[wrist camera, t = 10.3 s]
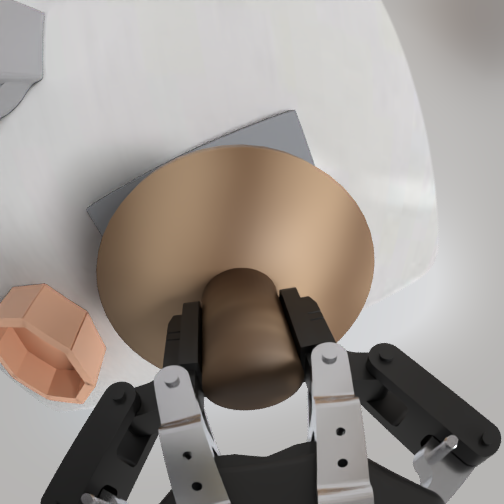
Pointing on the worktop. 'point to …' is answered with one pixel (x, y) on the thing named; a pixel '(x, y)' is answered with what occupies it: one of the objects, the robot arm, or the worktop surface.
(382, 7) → the worktop surface
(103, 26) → the worktop surface
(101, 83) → the worktop surface
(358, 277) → the lid
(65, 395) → the bowl
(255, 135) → the mat
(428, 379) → the robot arm
